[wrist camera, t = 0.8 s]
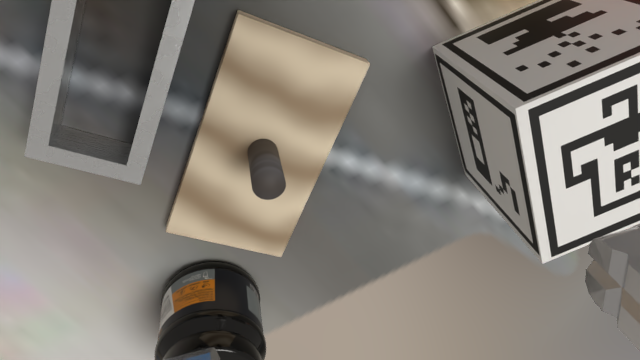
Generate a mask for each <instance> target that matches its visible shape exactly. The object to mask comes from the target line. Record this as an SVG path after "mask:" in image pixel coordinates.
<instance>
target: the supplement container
mask: <svg viewBox="0 0 640 360" xmlns="http://www.w3.org/2000/svg"><path fill="white" fill-rule="evenodd" d="M211 347H213V348H215V349H216V351H217V353H218V355H219V357H220V360H264V359H265V355H266V342H265V337H264V335H263V327H262V318H261V309H260V294H259V290H258V287H257V285H256V283H255V281H254V280H253V279H252V277H251V276H250V275H249V274H248V273H246V272H245V271H244V270H242V269H240V268H238V267H236V266H234V265H230V264H227V263H221V262H207V263H201V264H197V265H193V266H191V267H188V268H186V269H184V270H183V271H181V272H179V273H178V274H177V275H176V276H175V277H174V278H172V280H171V281H170V282H169V283H168V285H167V286H166V288H165V290H164V293H163V296H162V302H161V317H160V325H159V334H158V341H157V344H156V348H155V360H164V359H168V358H172V357H176V356H180V355H184V354H187V353H191V352H195V351H199V350H203V349H207V348H211Z"/></svg>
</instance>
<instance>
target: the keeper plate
mask: <svg viewBox="0 0 640 360" xmlns="http://www.w3.org/2000/svg"><path fill="white" fill-rule="evenodd" d="M369 66H370V63H369V62H368V61H367V60H366V59H365V58H362V57H360V56H357V55H354V54H352V53H349V52H347V51H344V50H341V49H339V48H336V47H334V46H331V45H328V44H326V43H323V42H321V41H318V40H315V39H313V38H310V37H308V36H305V35H302V34H300V33H297V32H295V31H292V30H289V29H287V28H284V27H282V26H279V25H276V24H274V23H271V22H269V21H266V20H263V19H261V18H258V17H256V16H253V15H250V14H248V13H245V12H243V11H240V10H238V11H237V14H236V17H235V20H234V23H233V26H232V29H231V32H230V35H229V38H228V41H227V44H226V47H225V50H224V53H223V56H222V59H221V62H220V65H219V68H218V71H217V74H216V77H215V80H214V83H213V86H212V89H211V92H210V95H209V98H208V101H207V104H206V107H205V110H204V113H203V116H202V119H201V122H200V125H199V128H198V131H197V134H196V137H195V140H194V143H193V146H192V149H191V152H190V155H189V158H188V161H187V164H186V167H185V170H184V173H183V176H182V179H181V182H180V185H179V188H178V191H177V194H176V197H175V200H174V203H173V206H172V209H171V213H170V216H169V219H168V222H167V227H166V232H168V233H172V234H177V235H182V236H186V237H191V238H195V239H200V240H205V241H209V242H214V243H218V244H223V245H228V246H232V247H237V248H242V249H246V250H251V251H255V252H260V253H265V254H269V255H274V256H278V257H281V256H282V254H283V252H284V250H285V247H286V245H287V243H288V241H289V239H290V237H291V234H292V232H293V230H294V228H295V226H296V224H297V221H298V219H299V217H300V215H301V213H302V211H303V208H304V206H305V204H306V202H307V200H308V198H309V196H310V193H311V191H312V189H313V187H314V185H315V183H316V180H317V178H318V176H319V174H320V172H321V170H322V167H323V165H324V163H325V161H326V159H327V157H328V154H329V152H330V150H331V148H332V146H333V144H334V141H335V139H336V137H337V135H338V133H339V131H340V128H341V126H342V124H343V122H344V120H345V118H346V116H347V113H348V111H349V109H350V107H351V105H352V103H353V100H354V98H355V96H356V94H357V92H358V90H359V87H360V85H361V83H362V81H363V79H364V77H365V74H366V72H367V70H368V68H369Z"/></svg>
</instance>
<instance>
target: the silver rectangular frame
mask: <svg viewBox="0 0 640 360" xmlns="http://www.w3.org/2000/svg"><path fill="white" fill-rule="evenodd" d="M194 2H195V0H172V2H171V6H170V9H169V13H168V17H167V20H166V24H165V28H164V31H163V35H162V38H161V42H160V46H159V49H158V53H157V57H156V60H155V64H154V68H153V71H152V75H151V78H150V82H149V86H148V89H147V93H146V97H145V100H144V104H143V108H142V111H141V115H140V118H139V122H138V126H137V129H136V133H135V137H134V140H133V144H129V143H125V142H122V141H118V140H114V139H110V138H107V137H103V136H99V135H96V134H92V133H88V132H84V131H81V130H77V129H73V128H70V127H66V126H62V125H61V122H62V117H63V113H64V108H65V103H66V98H67V93H68V88H69V83H70V78H71V73H72V69H73V64H74V59H75V54H76V49H77V44H78V39H79V34H80V29H81V25H82V20H83V15H84V10H85V5H86V0H52V3H51V8H50V14H49V20H48V25H47V31H46V37H45V42H44V48H43V54H42V59H41V65H40V71H39V76H38V82H37V88H36V93H35V99H34V105H33V111H32V116H31V122H30V128H29V133H28V139H27V145H26V150H25V156H24V157H28V158H32V159H36V160H40V161H44V162H49V163H53V164H57V165H61V166H65V167H69V168H73V169H77V170H81V171H85V172H89V173H94V174H98V175H102V176H106V177H110V178H114V179H118V180H122V181H126V182H130V183H135V184H139V185H141V182H142V179H143V175H144V172H145V168H146V165H147V162H148V158H149V155H150V151H151V148H152V145H153V141H154V138H155V134H156V131H157V128H158V124H159V121H160V117H161V114H162V111H163V107H164V104H165V100H166V97H167V94H168V90H169V87H170V83H171V80H172V77H173V73H174V70H175V66H176V63H177V60H178V56H179V53H180V49H181V46H182V43H183V39H184V36H185V32H186V29H187V26H188V22H189V19H190V15H191V12H192V9H193V5H194Z"/></svg>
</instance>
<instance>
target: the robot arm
mask: <svg viewBox="0 0 640 360" xmlns="http://www.w3.org/2000/svg"><path fill="white" fill-rule="evenodd" d="M588 254H589V255H590V256H591V257H592V258H593V259H594V260H593V261H592V263H591V264H590V265H589V266H588V268H587V269H586V280H585V282H586V285H587V288H588V291H589V294H590V296H591V297H592V299H593V300H594V302H595V304H596V305H597V306H598V307H599V308H600V309H601V310H602V311H603V312H605V313H607V314H610V315H612V316H615V317H617V327H618V329H619V330H620V331H621V332H622V333H623V334H624V335H625V336H626V337H627V338H628V339H629V341H631V343H632V344H633V345H634V346H635V347H636V348H637V349H638V350H639V351H640V226H638V227H632V228H629V229H626V230H622V231H619V232H615V233H612V234H609V235H605V236H602V237H599V238H595V239H593V240H592V242H591V243H590V244H589V251H588ZM164 360H220V357H219V355H218V353H217V351H216V349H215V348H213V347H211V348H207V349H203V350H199V351H195V352H191V353H187V354H184V355H180V356H176V357H172V358H168V359H164Z"/></svg>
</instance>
